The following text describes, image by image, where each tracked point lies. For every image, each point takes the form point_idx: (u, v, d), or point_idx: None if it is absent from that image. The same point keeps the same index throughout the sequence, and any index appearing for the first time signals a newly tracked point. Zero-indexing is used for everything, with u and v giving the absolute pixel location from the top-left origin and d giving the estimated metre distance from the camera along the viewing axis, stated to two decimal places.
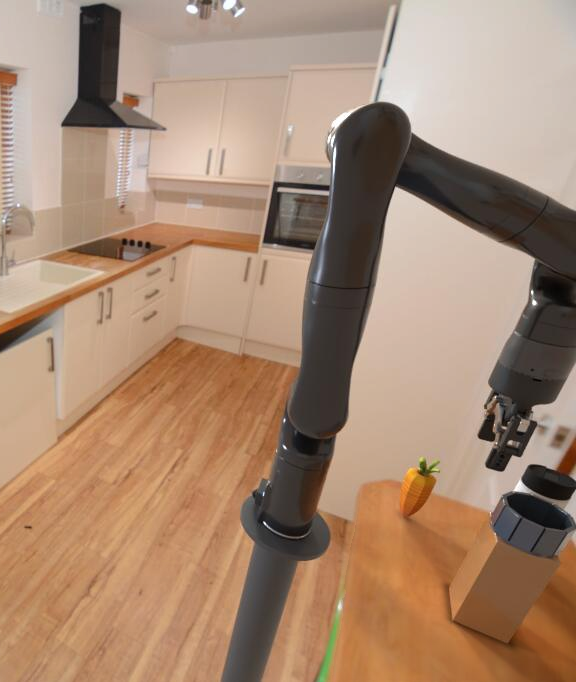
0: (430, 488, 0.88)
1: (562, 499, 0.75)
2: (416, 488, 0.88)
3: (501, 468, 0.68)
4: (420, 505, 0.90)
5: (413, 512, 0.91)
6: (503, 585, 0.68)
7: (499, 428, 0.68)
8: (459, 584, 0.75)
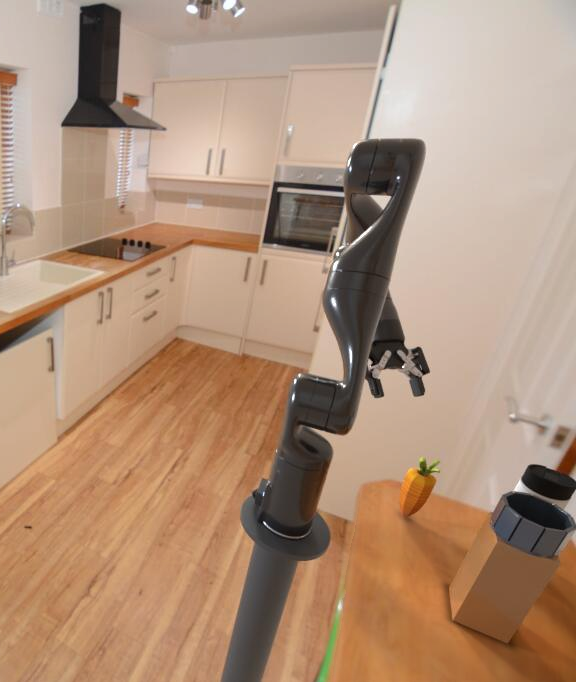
0: (430, 488, 0.88)
1: (562, 499, 0.75)
2: (416, 488, 0.88)
3: (375, 392, 0.94)
4: (420, 505, 0.90)
5: (413, 512, 0.91)
6: (503, 585, 0.68)
7: (369, 367, 0.98)
8: (459, 584, 0.75)
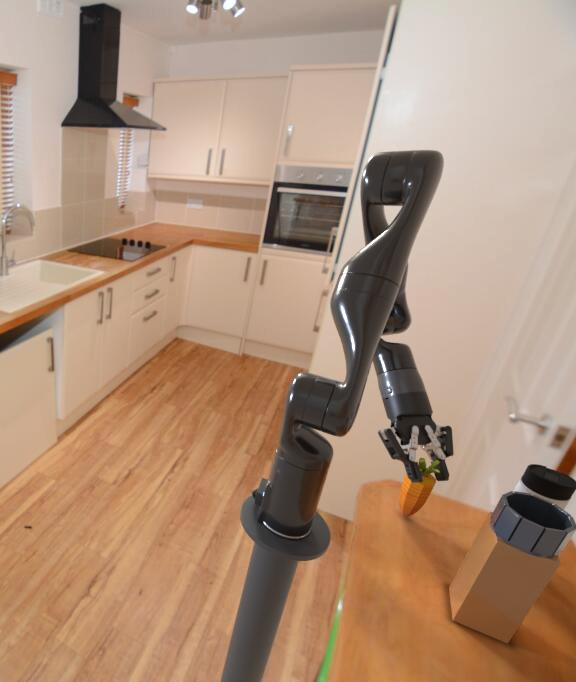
0: (429, 488, 0.87)
1: (562, 499, 0.75)
2: (416, 488, 0.88)
3: (412, 476, 0.87)
4: (420, 505, 0.90)
5: (413, 512, 0.91)
6: (503, 585, 0.68)
7: (400, 446, 0.91)
8: (459, 584, 0.75)
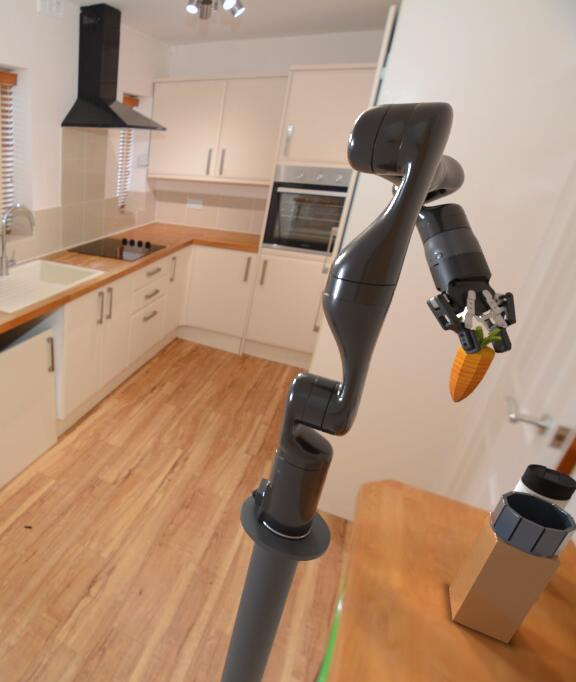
0: (488, 361, 0.75)
1: (562, 499, 0.75)
2: (471, 362, 0.76)
3: (469, 346, 0.75)
4: (475, 384, 0.78)
5: (466, 394, 0.79)
6: (503, 585, 0.68)
7: None
8: (459, 584, 0.75)
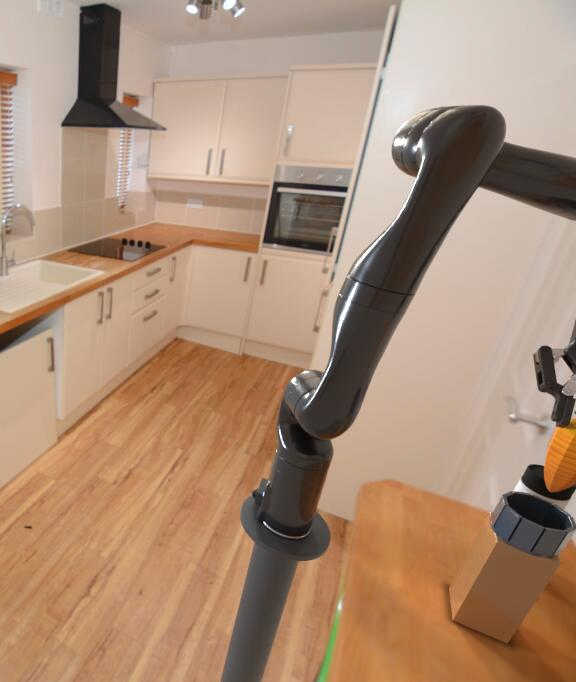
0: None
1: (562, 499, 0.75)
2: (563, 440, 0.60)
3: (554, 415, 0.59)
4: (569, 472, 0.60)
5: (559, 483, 0.62)
6: (503, 585, 0.68)
7: (567, 380, 0.61)
8: (459, 584, 0.75)
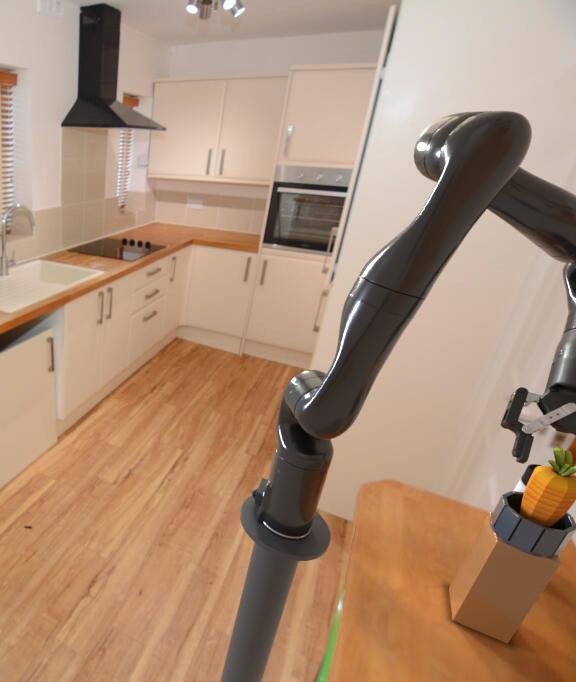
0: (559, 492, 0.61)
1: None
2: (537, 486, 0.63)
3: (514, 451, 0.64)
4: (543, 516, 0.63)
5: None
6: (503, 585, 0.68)
7: None
8: (459, 584, 0.75)
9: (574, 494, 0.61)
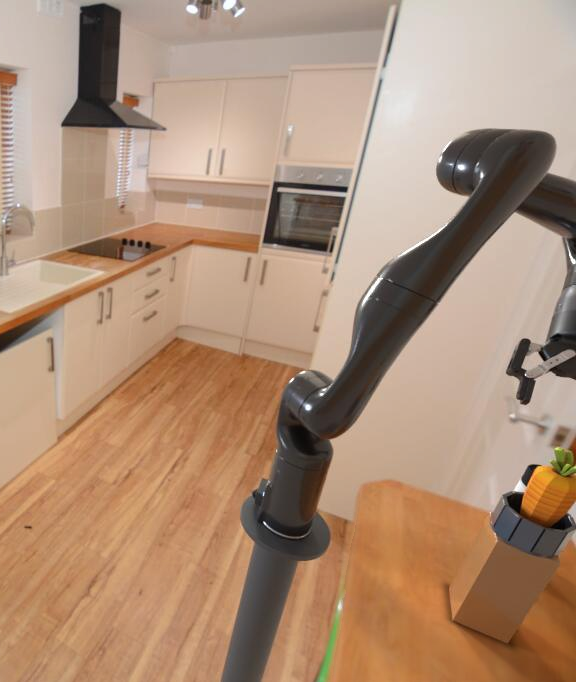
0: (560, 492, 0.61)
1: None
2: (538, 486, 0.63)
3: (518, 394, 0.71)
4: (543, 516, 0.63)
5: None
6: (503, 585, 0.68)
7: None
8: (459, 584, 0.75)
9: (575, 494, 0.61)
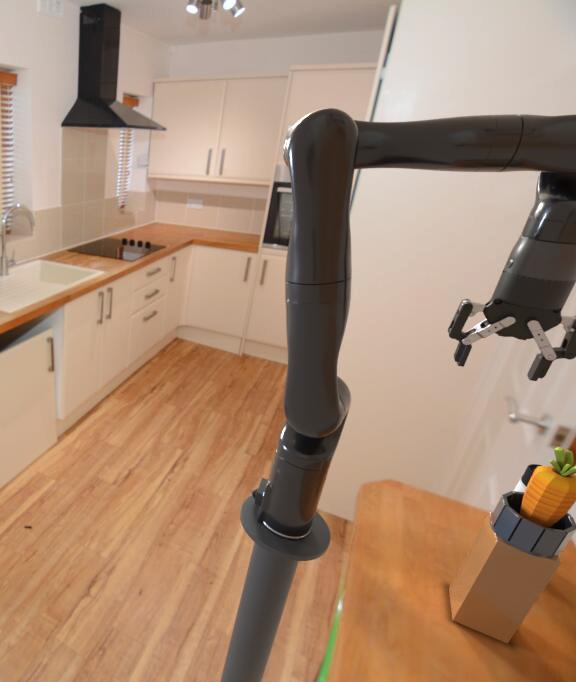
0: (560, 492, 0.61)
1: None
2: (538, 486, 0.63)
3: (454, 358, 0.73)
4: (543, 516, 0.63)
5: None
6: (503, 585, 0.68)
7: (479, 323, 0.71)
8: (459, 584, 0.75)
9: (575, 494, 0.61)
